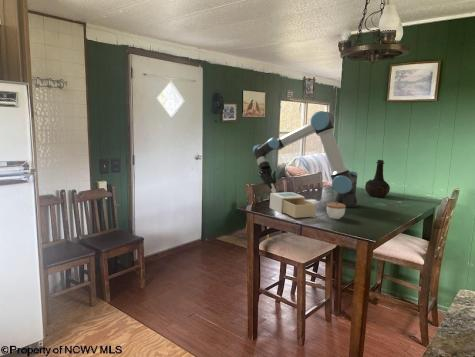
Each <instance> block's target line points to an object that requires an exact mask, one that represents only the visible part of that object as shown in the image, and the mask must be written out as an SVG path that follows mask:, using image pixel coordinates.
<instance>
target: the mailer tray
mask: <svg viewBox="0 0 475 357" xmlns="http://www.w3.org/2000/svg"><path fill="white" fill-rule="evenodd" d="M316 209H317V203H314V202H312V201H308V200H307V199H301V198H296V199H283V204H282V212H284V213H283V214H286V215H288V216H290V217H292V218H294V219H297V218H298V219H299V218H310V217H311V218H312V217H316Z"/></svg>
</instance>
